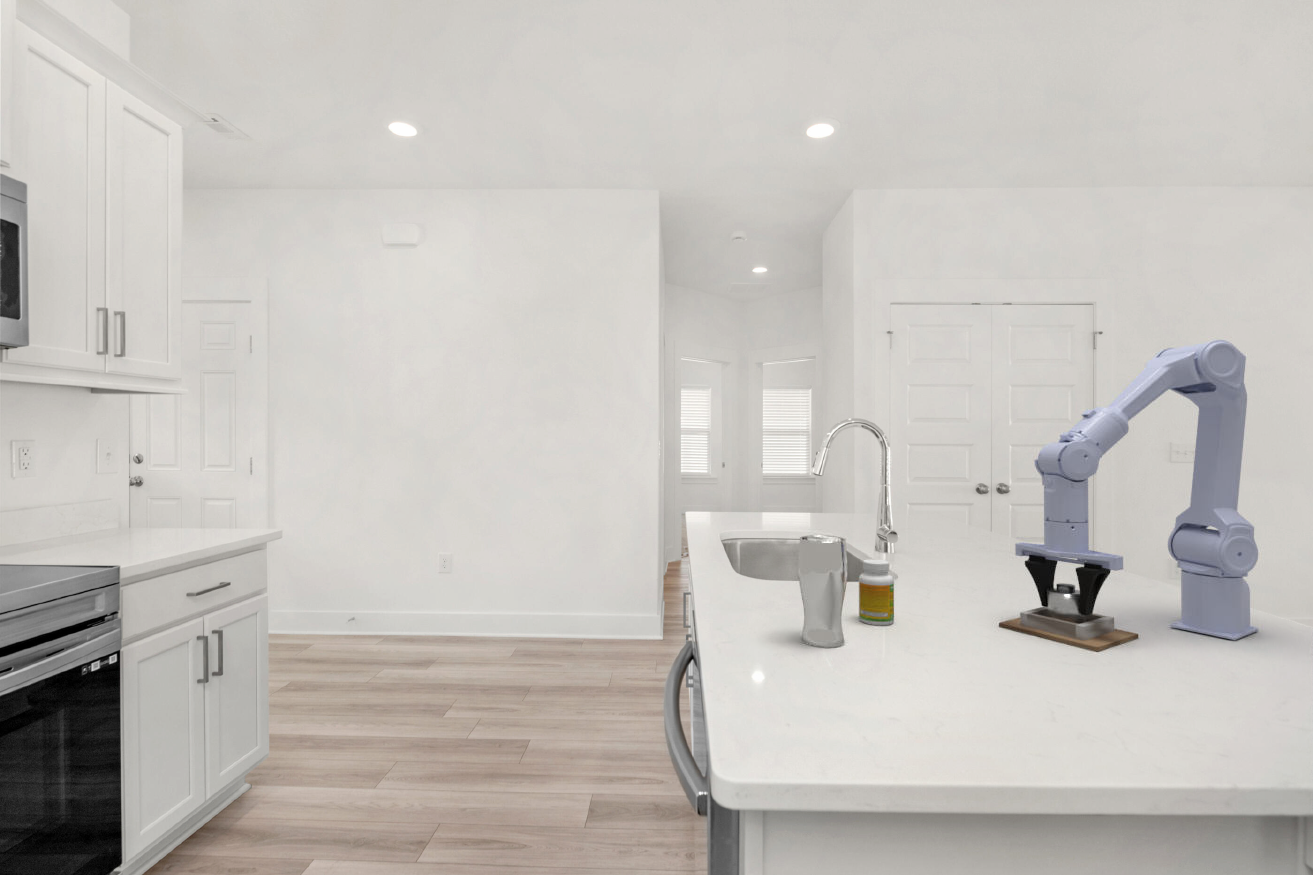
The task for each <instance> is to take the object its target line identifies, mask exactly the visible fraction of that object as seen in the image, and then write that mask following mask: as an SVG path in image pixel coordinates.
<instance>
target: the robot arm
mask: <svg viewBox="0 0 1313 875" xmlns="http://www.w3.org/2000/svg"><path fill="white" fill-rule="evenodd" d="M1246 360H1247V357H1246V355H1244V353H1242V352H1241V351H1240V350H1239V348H1237V347H1236V346H1235V345H1234V344H1233V343H1231V342H1230V341H1228V340H1225V339H1214V340H1210V341H1207V342H1203V343H1202V342H1201V343H1197V344H1191V345H1186V346H1180V347H1179V346H1178V347H1167V348H1164V349H1161V350H1160V351H1158V352H1157V353H1156V354H1155V356H1154V357H1152V358H1150V359H1148V360H1147V361H1146V363H1145V368H1144V369H1143V370H1142V371H1141V372H1140V373H1139V374H1138V375H1137V376H1136V377H1135V379H1134V380H1133V381H1131V382H1130V384H1128V385H1127V386H1126V388H1124V389H1123V391H1121V393H1120V394H1119V395H1118V396H1117V397H1116V398H1115V399H1114V400H1113V401H1112V402H1110V404H1109V405H1108V406H1106V407H1105V406H1097V407H1094V408H1093V409H1091V408H1090V409H1086V410H1084V412H1082V414H1081V416H1082V417H1083V418H1082V419H1080V420H1079V421H1078V422H1077V423H1076V424H1074V426H1072V427H1071V428H1070V429H1069V430H1068V431H1064V432H1062V433H1061V434H1060V435H1059V436H1060V438H1059V440H1058V442H1056V441H1055V442H1050V443H1047V444H1045V445H1044V446H1043V447H1042V448H1041V450H1040V451H1039V453H1038V456H1037V458H1036V459H1034V460H1033V461H1034V467H1035V469H1036V470H1037V472H1038V474H1039V475H1040V477H1041V480H1042V481H1041V483H1042V485H1041V486H1043V520H1044V521H1043V529H1044V530H1043V533H1044V535H1043V537H1044V538H1043V544H1039V543H1038V544H1037V543H1029V542H1028V543H1027V542H1017V543H1015V544H1014V547H1015V551H1014V552H1015V554H1014V555H1015V556H1017V557H1018V556H1019V557H1028V559H1027V560H1024V566H1025V567H1026V569H1027V571H1028V573H1029V574H1030V576H1031V578H1032V580H1033V582H1034V584H1035V587H1036V589H1037V593H1038V595H1039V596H1038V597H1039V600H1040V605H1041V607H1047V589H1052V588H1054V587H1055V576H1056V575H1055V574H1056V569H1057V564H1058V562H1064V563H1070V564H1074V565H1076V564H1077V565H1081V566H1078V567H1076V568H1075V574H1076V578H1077V582H1078V586H1079V589H1078V590H1079V591H1080V613H1081V615H1090V614H1093V613H1094V607H1095V604H1096V602H1097V601H1096V600H1097V598H1098V595H1099V594H1100V593H1099V592H1100V590H1101V589H1102V587H1103V585H1104V583H1105V581H1106V580H1107V579H1108V577H1109V576H1110V574H1111V571H1116V572H1117V571H1121V570H1124V556H1123V555H1117V554H1113V553H1107V552H1102V551H1097V550H1096V551H1095V550H1091V549H1090V548H1089V546H1090V544H1089V537H1090V536H1089V535H1090V534H1089V528H1090V527H1089V526H1090V525H1089V478H1090V477H1092V476H1094V475H1096V473H1097V471H1098V470H1099V463H1100V460H1101V458H1103V456H1104V455H1105V454H1106V453H1107V452H1109V450H1110V449H1112V448H1113V447H1114V446H1115V445H1116V444H1118V442H1119V441H1121V440H1122V439H1123V438H1124V437H1125V436H1126V435H1128V432H1129V431H1130V430H1129V429H1130V428H1129V421H1130V420H1132V419H1133V418H1134V417H1136V415H1138V414H1140V412H1142V411H1143V410H1145V408H1147V407H1148V406H1149V405H1150V404H1152V403H1153V402H1154V401H1156V400H1157V399H1159V397H1161V396H1162V395H1163V394H1164V393H1166V392H1167V391H1168V390H1170V391H1172V392H1175V393H1176V394H1179V395H1180V396H1181V397H1185V398H1186V399H1188V400H1189V401H1191V402H1192V403H1193V404H1194V405H1195V406H1197V407H1198V408H1197V409H1198V417H1197V429H1196V437H1195V438H1196V439H1195V450H1194V461H1193V473H1192V482H1191V492H1190V493H1191V494H1190V503H1189V504H1190V505H1189V507H1188V508H1186V509H1185V510H1184V511H1182V512H1181V513H1179V514H1178V515H1177V516H1176V517H1175V524H1174V526H1173V527H1174V528H1173V530H1172V532H1170V534H1169V537H1168V539H1167V548H1168V553H1169V555H1170V556H1171V558H1173V560H1175V561H1176V562H1177V568H1180V569H1181V570H1180V574H1181V575H1180V588H1181V590H1180V593H1181V594H1180V596H1181V598H1180V599H1181V601H1180V604H1181V605H1180V606H1181V612H1180V614H1181V619H1180V620H1178V621H1175V622H1174V621H1173V622H1171V623H1169V626H1170V627H1171V628H1175V629H1178V630H1179V629H1180V630H1185V631H1189V632H1194V633H1199V634H1204V635H1208V636H1213V637H1218V638H1223V639H1227V640H1234V641H1236V640H1238V639H1240V638H1243V637H1246V636H1249V635H1251V634H1253V633H1255V632H1258V631H1259V627H1257V626H1253V625H1251V590H1250V586H1249V584H1248V582H1247V580H1246V579H1244V577H1246V578H1247V577H1248V576H1249V574H1248V573H1249V572H1250V571H1252V570H1253V569H1254V568H1255V566H1256V565H1257V563H1258V559H1259V558H1258V557H1259V549H1258V545H1257V543H1256V539H1255V526H1254V525H1253V524H1252V523H1251V522H1250V521H1248V520H1247V519H1246V518H1245V517H1244V516H1243V515H1241V514H1240V513H1239V512H1238V505H1239V496H1240V495H1239V492H1240V483H1241V472H1242V460H1243V451H1244V450H1243V448H1244V438H1245V428H1246V417H1247V406H1248V405H1247V404H1248V393H1247V389H1246V384H1245V382H1244V381H1245V372H1246ZM1209 527H1213V528H1215V529H1212V528H1209ZM1082 565H1083V566H1082Z"/></svg>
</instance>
